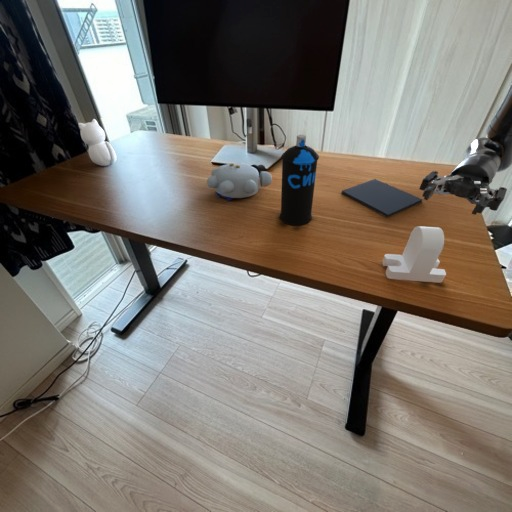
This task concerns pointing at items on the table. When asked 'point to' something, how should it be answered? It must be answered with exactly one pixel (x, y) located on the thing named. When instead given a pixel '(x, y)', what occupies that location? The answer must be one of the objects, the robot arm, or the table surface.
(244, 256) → the table surface
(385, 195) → the felt mat
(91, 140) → the cat figurine
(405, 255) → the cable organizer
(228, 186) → the figurine
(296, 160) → the aerosol can
